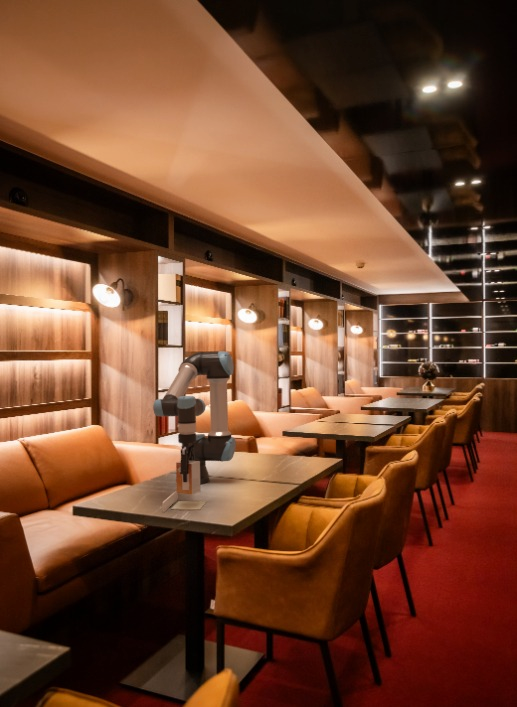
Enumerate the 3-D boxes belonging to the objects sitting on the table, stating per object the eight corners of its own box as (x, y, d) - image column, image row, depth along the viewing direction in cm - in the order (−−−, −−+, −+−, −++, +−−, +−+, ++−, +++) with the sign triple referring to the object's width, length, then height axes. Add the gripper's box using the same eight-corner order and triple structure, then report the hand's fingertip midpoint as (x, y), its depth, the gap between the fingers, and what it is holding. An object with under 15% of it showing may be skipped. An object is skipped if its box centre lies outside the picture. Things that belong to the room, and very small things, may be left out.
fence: (175, 499, 259) (175, 490, 259) (177, 499, 259) (177, 490, 259) (162, 512, 239) (162, 502, 239) (164, 512, 239) (164, 502, 239)
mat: (178, 502, 255) (178, 501, 255) (206, 502, 253) (206, 501, 253) (171, 509, 243) (171, 508, 243) (199, 509, 241) (199, 508, 241)
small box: (176, 493, 247) (175, 462, 247) (185, 490, 253) (184, 459, 253) (192, 495, 243) (191, 463, 243) (200, 491, 249) (200, 461, 249)
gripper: (184, 429, 259) (186, 482, 259) (171, 436, 238) (172, 493, 238) (201, 429, 258) (202, 482, 258) (189, 436, 237) (191, 493, 237)
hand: (188, 487), depth 248 cm, fingers closed on small box, 8 cm apart
